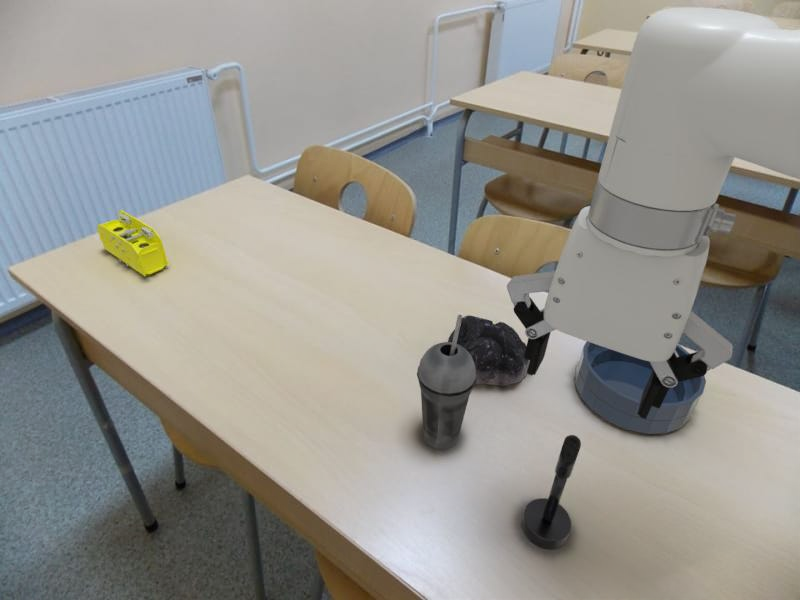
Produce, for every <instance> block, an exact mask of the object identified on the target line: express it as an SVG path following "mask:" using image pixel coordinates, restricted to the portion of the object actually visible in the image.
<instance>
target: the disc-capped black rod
mask: <svg viewBox="0 0 800 600" xmlns="http://www.w3.org/2000/svg"><path fill="white" fill-rule="evenodd" d="M581 446H582V442H581V439H580V437H578V436H577V435H574V434H569V435H567V436H565V438H564V439H563V443H562V446H561V450H560V452H559V456H558V458H557V462H556V465H555V468H554V473H555V476H554V479H553V482H552V485H551V488H550V491H549V495H548V496H547V498H543V497H541V498H536V499H532V500H531V501H529V503H527V504H526V505H525V508H524V511H523V514H522V519H521V527H522V531H523V533H524V535H525V536H526V538H527V539H528V540H529V541H530V542H531V543H532V544H534V545H535V546H537V547H538V548H541V549H545V550H555V549H558V548H560V547H562V546H563V545H565V544H566V542H567V540H568V537H569V535H570V533H571V530H572V520H571V517H570V514H569V512H568V511H567V510H566V508H564V506H562V505H561V504H560V503H561V502H560V501H561V499H562V495H563V494H564V493H563V492H564V490H565V488H566V487H565V486H566V483H567V481H568V479H569V478H570V477H571V475H572V473H573V470H574V467H575V464H576V461H577V458H578V456H579V453H580V449H581Z"/></svg>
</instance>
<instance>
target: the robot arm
mask: <svg viewBox="0 0 800 600" xmlns="http://www.w3.org/2000/svg"><path fill="white" fill-rule="evenodd" d="M627 64H628V65H627V67H626V71H625V75H624V79H623V83H622V86H621V90H620V95H619V98H618V102H617V104H616V109H615V112H614V115H613V120H612V124H611V128H610V131H609V136H608V139H607V143H606V147H605V150H604V154H603V158H602V161H601V165H600V168H599V172H598V176H597V180H596V183H595V187H594V190H593V195H592V198H591V202H590V205H588V206H584V207H583V208H581V210H580V211H579V212H578V215H577V216H576V219H575V221H574V222H573V224H572V227H571V230H570V231H569V234H568V236H567V238H566V241H565V244H564V246H563V249H562V251H561V253H560V257H559V260H558V262H557V265H556V268H555V270H551V271H544V272H536V273H527V274H520V275H519V274H518V275H514V276H512V277H511V279H510V280H509V282H508V283H507V285H506V289H507V292H508V295H509V298H510V301H511V303H512V304H513V312H514V314H515V316H516V317H517V318H518V320H519V321H520V323H521V324H522V325H523V327H524V328H525V331H524V334H525V336H526V337H527V344H526V351H525V355H524V359H527V360H529V364H528V366H527V374H526V375H529V376H533V375H534V376H536V374H537V372H538V370H539V369H540V366H541V364H542V362H543V361H544V358H545V355H546V351H547V348H548V345H549V344H548V343H549V340H550V336H551V333H552V332H553V331H555V330H556V331H558V332H561V333H563V334H565V335H568V336H571V337H574V338H576V339H579V340H582V341H585V342H587V341H588V342H591V343H594V344H596V345H599V346H602V347H605V348H608V349H611V350H614V351H617V352H620V353H623V354H626V355H629V356H632V357H635V358H638V359H642V360H645V361H649V362H650V364H651V366H652V367H653V371H652V373H651V375H650V378H649V380H648V382H647V385H646V387H645V389H644V392H643V394H642V398H641V402H640V405H639V409H638V413H637V414H638V415H639V417H641V418H644V419H646V417H647V415H648V413H649V411H650V409H651V407H652V406H653V407H656V408H659V409H660V407H661V405H662V403H663V401H664V398H665V396H666V394H667V392H668V390H669V388H673V387H675V386H676V385H677V383H678V382H681V381H685V380H689V379H693V378H698V377H702V376H706V375H707V372H708V371H710V370H714V369H716V368H718V367H719V366H721V365H723V364H725V363H726V362H728V361H730V360H731V359H732V357H733V349H734V348H733V344H732V343H731V342H730V341H729V340H728V339H727V338H726V337H724V336H723V335H722V334H720V332H718V331H717V330H716V329H714V328H713V327H712V326H711V325H709V324H708V323H707V322H706V321H704V320H703V319H702V318H701V317H700V316H699V315H697V314H696V313H695V312H693V311H692V309H693V306H694V303H695V302H696V301H695V300H696V298H697V296H698V295H697V294H698V292H699V289H700V285H701V281H702V278H703V275H704V272H705V269H706V266H707V265H706V264H707V261H708V257H709V252H710V251H709V250H710V245H711V240H710V238H709V234H710V233H712V234H716V233H720V234H723V235H725V234H726V235H730V233H731V231H732V229H733V227H734V224H735V222H736V218H737V214H734V213H730V212H726V211H725V209H722V208H719V207H720V204H719V203H716V202H717V200H718V198H719V196H720V193H721V190H722V188H723V186H724V183H725V181H726V179H727V177H728V174H729V172H730V169H731V167H732V164H733V162H734V160H735V158H736V159H739V160H742V161H745V162H748V163H751V164H754V165H757V166H759V167H763V168H764V169H768V170H770V171H773V172H777V173H779V174H782V175H785V176H788V177H791V178H794V179H798V180H800V27H798V28H797V29H785V28H784V29H781V28H779V26H778V25H777V24H776V23H775V22H774V20H771V19H770V18H768V17H765V16H763V15H760V14H755V13H751V12H748V11H741V10H735V9H726V8H718V7H717V8H715V7H700V6H697V7H696V6H688V7H687V6H683V7H671V8H665V9H663V10H659V11H656V12H654V13H653V14H651V15H650V16H649V17H648V18H647V19H646V20H645V21H644V22H643V23H642V25H641V26H640V28H639V30H638V32H637V34H636V37H635V40H634V43H633V46H632V49H631V54H630V57H629V61H628V63H627ZM544 292H548V293H547V296H546V300H545V303H544V307H543V308H541V309H540V308H539V307H538V306H537V305H536V303H535V302H534V300H533V299H532V298H531V297H530V294H535V293H544ZM682 335H685V336H686V337H687V338H688V339H689V340H690V341H692V342H693V343H694V344H695V345H697V346H698V347H699V348H700V351H695V352H692V353H690V354H687V355H684V356H680V357H679V355H678V354H677V352H676V350H675V349H676V346H677V344H678V345H679V342H680V340H681V337H682Z"/></svg>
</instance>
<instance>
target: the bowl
mask: <svg viewBox="0 0 800 600" xmlns="http://www.w3.org/2000/svg"><path fill="white" fill-rule="evenodd" d="M675 350H676V352H677V354H678V355H679V357H680V356H684V355H687V354H691V353H690V352H688V351H687V349H685V348H684V347H682V346H681V345H680V344H679V343H678V344H677V346H676V349H675ZM652 371H653V367H652V366H651V364H650V362H649V361H645V360H642V359H638V358H635V357H632V356H629V355H626V354H623V353H620V352H617V351H614V350H611V349H608V348H605V347H602V346H599V345H596V344H594V343H591V342H588V341H585V343H584V345H583V347H582V350H581V353H580V357H579V361H578V364H577V367H576V370H575V379H574V381H575V387H576V389H577V391H578V394H579V396H580V398H581V399H582V400H583V402H584V403H585V404H586V405H587V406H588V407H589V408H590V410H591V411H593V412H594V413H595V414H597V415H598V416H600V417H601V418H603V419H604V420H605V421H607V422H608V423H611V424H613V425H614V426H615V425H616V426H618V427H620V428H622V429H624V430H627V431H632V432H636V433H642V434H647V435H648V434H649V435H650V434H655V435H656V434H657V435H658V434H668V433H670V432H674V431H676V430H679V429H681V428H682V427H683V426H685V424H686V423H688V422H689V421H690V419H691V417H692V416H693V413H694V411H695V410H696V407H697V406H698V404H699V403H700V400H701V399H702V397H703V395H704V391H705V388H706V385H707V384H706V383H707V380H706V375H704V376H702V377H698V378H693V379H689V380H685V381H681V382H678V383H677V385H676V386H675V387H673V388H669V390H668V392H667V394H666V396H665V398H664V401H663V403H662V405H661V407H660V409H659V408H656V407H653V406H652V407H651V409H650V411H649V413H648V415H647V417H646V419H644V418H641V417H639V415H638V414H637V413H638V409H639V405H640V402H641V398H642V394H643V392H644V389H645V387H646V385H647V382H648V380H649V378H650V375H651V373H652Z"/></svg>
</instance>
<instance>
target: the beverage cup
mask: <svg viewBox="0 0 800 600" xmlns="http://www.w3.org/2000/svg"><path fill="white" fill-rule="evenodd" d="M462 318H463V315H462V314H457V318H456V321H455V327H454V329H455V331H454V330H453V331H454V336H453V341H452V342H448V341H443V342H439V343H436V344H434V345H432V346H431V347H430V348H428V349H427V350H426V351H425V353H424V354H423V356H421V358H420V361H419V365H418V366H417V372H416V377H417V380H418V385H419V388H420V399H421V415H422V417H421V418H422V431H423V437H424V438H423V439H424V442H425V443H426V444H427V445H428V446H430V447H431V448H433V449H435V450H440V451H445V450H449V449H451V448H453V447H454V446H455V445H456V443H457V442H458V438H459V435H460V433H461V430H462V425H463V422H464V418H465V413H466V410H467V407H468V402H469V399H470V395H471V394H472V391H473V389H474V387H475V385H476V368H475V364H474V361H473V359H472V356H471V355H470V353H469V352H468V351H467V350H466V349H465V348H463V347H462V346H460V345H458V344H457V339H458V334H459V329H460V325H461V320H462Z"/></svg>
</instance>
